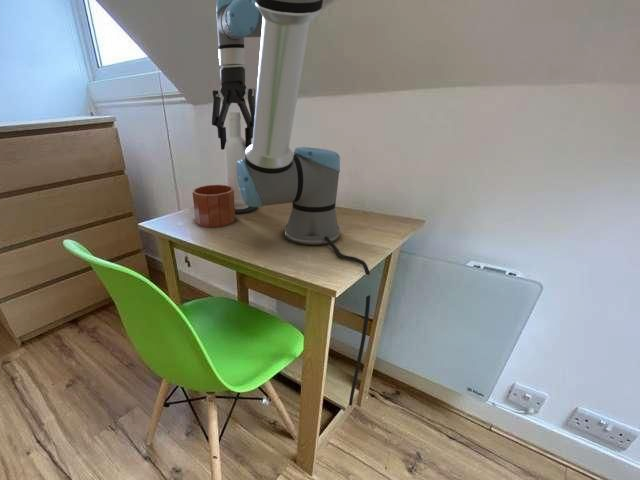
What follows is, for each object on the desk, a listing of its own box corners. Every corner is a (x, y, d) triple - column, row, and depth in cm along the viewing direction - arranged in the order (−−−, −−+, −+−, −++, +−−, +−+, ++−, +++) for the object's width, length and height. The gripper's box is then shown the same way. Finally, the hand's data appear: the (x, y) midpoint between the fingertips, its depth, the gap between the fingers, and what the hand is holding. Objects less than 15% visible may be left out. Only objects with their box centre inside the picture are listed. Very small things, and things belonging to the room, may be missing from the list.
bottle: (250, 203, 126) (247, 111, 110) (248, 209, 119) (245, 112, 103) (229, 203, 127) (223, 112, 111) (226, 210, 120) (220, 113, 104)
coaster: (263, 208, 121) (263, 207, 121) (232, 216, 116) (232, 214, 115) (243, 201, 131) (243, 199, 130) (214, 207, 125) (214, 206, 125)
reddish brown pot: (242, 221, 111) (241, 190, 106) (207, 230, 106) (204, 197, 100) (222, 211, 121) (220, 182, 115) (189, 219, 115) (185, 189, 110)
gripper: (270, 64, 99) (270, 148, 111) (208, 69, 108) (214, 146, 120) (259, 64, 94) (260, 152, 106) (195, 69, 102) (202, 150, 114)
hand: (236, 149), depth 113 cm, fingers open, 9 cm apart
